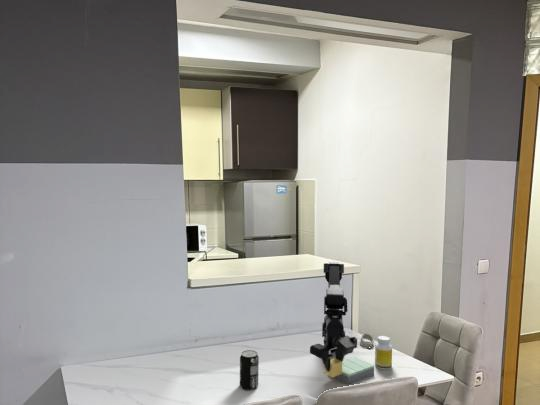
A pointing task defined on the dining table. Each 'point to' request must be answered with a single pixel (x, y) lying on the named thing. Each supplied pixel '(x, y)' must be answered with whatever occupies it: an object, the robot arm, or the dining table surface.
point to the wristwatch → (363, 343)
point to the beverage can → (249, 370)
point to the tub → (355, 376)
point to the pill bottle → (383, 353)
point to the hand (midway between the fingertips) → (333, 369)
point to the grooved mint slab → (347, 367)
